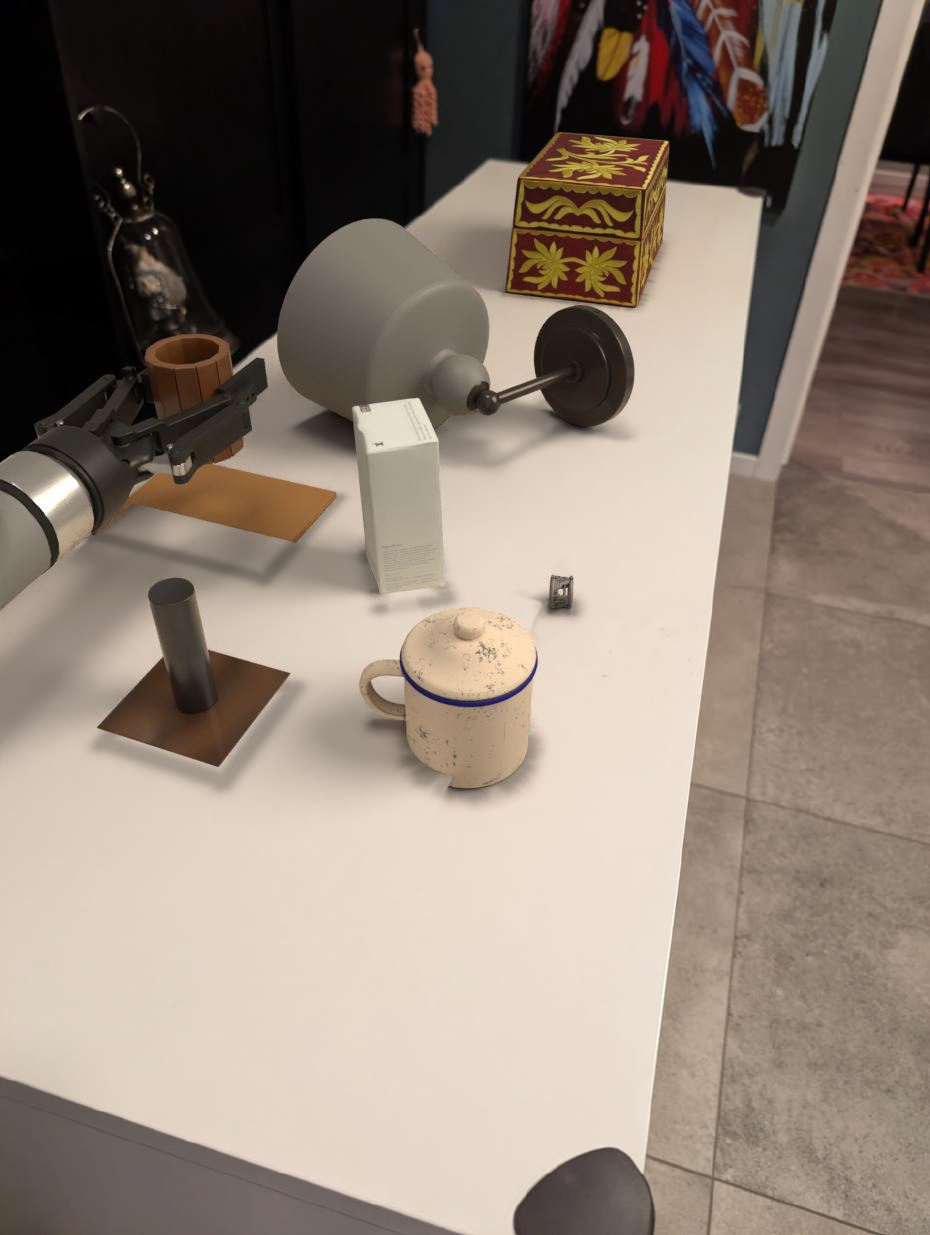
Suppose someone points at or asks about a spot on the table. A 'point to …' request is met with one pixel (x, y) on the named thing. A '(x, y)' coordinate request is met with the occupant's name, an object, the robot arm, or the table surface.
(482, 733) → the teacup with lid
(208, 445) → the robot arm
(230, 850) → the table surface
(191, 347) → the brown wooden cylinder
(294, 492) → the wooden board
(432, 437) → the cosmetic box
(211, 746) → the ring holder
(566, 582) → the decorative ring
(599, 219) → the decorative box
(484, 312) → the light fixture
